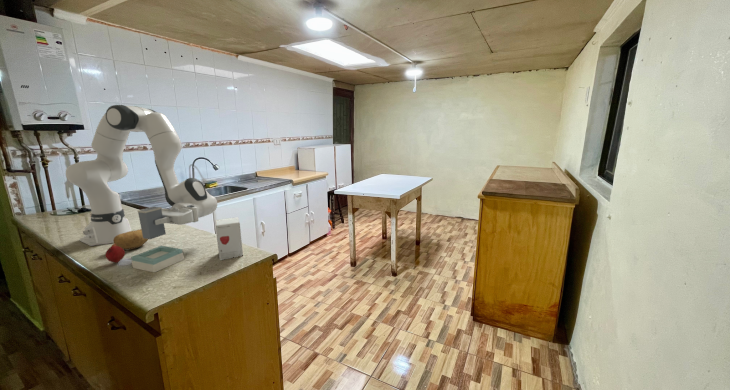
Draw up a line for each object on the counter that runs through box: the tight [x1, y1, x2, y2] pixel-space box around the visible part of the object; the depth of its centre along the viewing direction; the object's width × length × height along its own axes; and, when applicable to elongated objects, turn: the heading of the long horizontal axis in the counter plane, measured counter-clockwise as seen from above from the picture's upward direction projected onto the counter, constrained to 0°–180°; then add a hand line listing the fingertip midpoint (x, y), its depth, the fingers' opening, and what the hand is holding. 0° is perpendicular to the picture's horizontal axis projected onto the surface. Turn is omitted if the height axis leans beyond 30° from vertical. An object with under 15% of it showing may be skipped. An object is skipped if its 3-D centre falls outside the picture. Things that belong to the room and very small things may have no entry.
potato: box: [113, 228, 149, 250], centre depth 131 cm, size 10×14×8 cm
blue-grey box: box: [137, 206, 166, 240], centre depth 112 cm, size 4×6×11 cm
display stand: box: [131, 245, 185, 273], centre depth 115 cm, size 12×12×4 cm
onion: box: [105, 243, 126, 264], centre depth 115 cm, size 6×6×8 cm
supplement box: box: [215, 216, 244, 261], centre depth 121 cm, size 9×9×15 cm
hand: (149, 222), depth 111 cm, fingers closed on blue-grey box, 4 cm apart
